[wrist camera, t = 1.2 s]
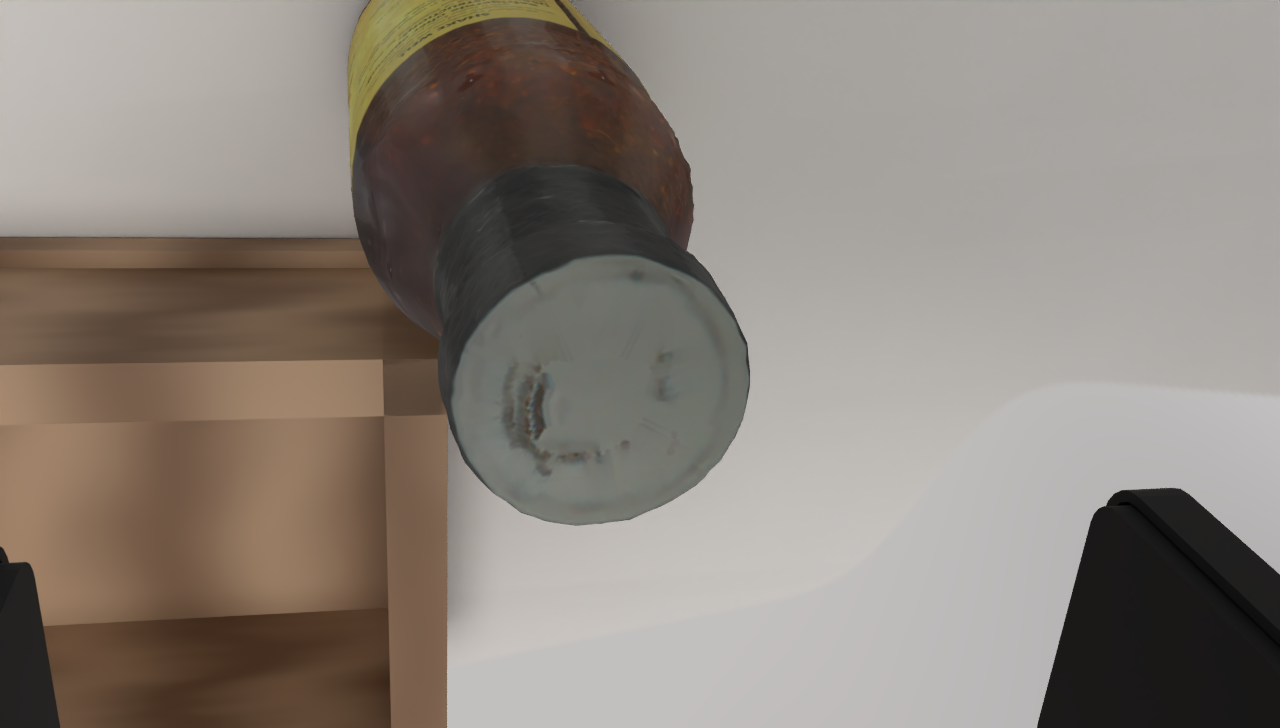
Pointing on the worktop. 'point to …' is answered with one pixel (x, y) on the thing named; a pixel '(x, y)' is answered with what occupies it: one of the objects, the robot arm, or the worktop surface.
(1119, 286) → the worktop surface
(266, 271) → the u rest
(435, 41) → the sauce bottle
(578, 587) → the worktop surface
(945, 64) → the worktop surface
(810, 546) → the worktop surface
